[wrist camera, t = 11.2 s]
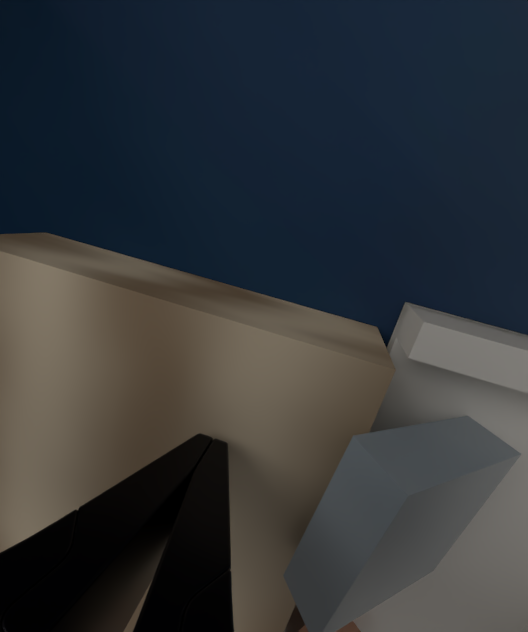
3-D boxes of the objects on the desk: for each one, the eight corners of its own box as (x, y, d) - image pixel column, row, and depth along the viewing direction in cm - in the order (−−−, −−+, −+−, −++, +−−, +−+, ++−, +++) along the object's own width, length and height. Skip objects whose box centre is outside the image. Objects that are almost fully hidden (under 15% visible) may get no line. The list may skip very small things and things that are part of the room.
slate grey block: (283, 575, 9) (314, 644, 7) (353, 435, 7) (407, 495, 6) (396, 525, 11) (433, 570, 10) (467, 415, 9) (521, 454, 8)
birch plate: (46, 560, 17) (-10, 627, 14) (46, 232, 11) (-49, 236, 8) (253, 649, 16) (236, 743, 13) (377, 327, 10) (396, 370, 7)
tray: (258, 665, 16) (248, 724, 14) (405, 302, 9) (423, 321, 8) (437, 743, 15) (452, 819, 13) (745, 394, 8) (866, 444, 6)
